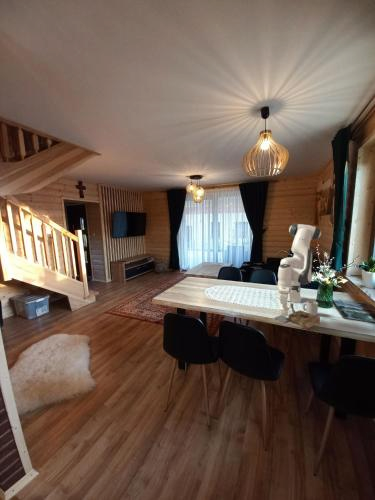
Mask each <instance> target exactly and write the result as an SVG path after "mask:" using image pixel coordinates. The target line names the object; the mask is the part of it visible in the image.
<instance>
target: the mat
mask: <svg viewBox="0 0 375 500" xmlns="http://www.w3.org/2000/svg"><path fill="white" fill-rule="evenodd" d="M273 318H274V319H275V320H277V321H280V322H282V323H284V324H285V323H287V322H289V321H290V320H289V319H288V318H289V317H287V316H283V315H278V316H275V317H273ZM290 322H291V321H290Z"/></svg>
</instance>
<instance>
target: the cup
mask: <svg viewBox="0 0 375 500" xmlns="http://www.w3.org/2000/svg"><path fill="white" fill-rule="evenodd" d="M301 308H302V311H304V312H306V313H309V314H312V315H315V316H318V310H319V302H317V301H314V300H307V301H306V302H304V303H303V304H302V307H301Z"/></svg>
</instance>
